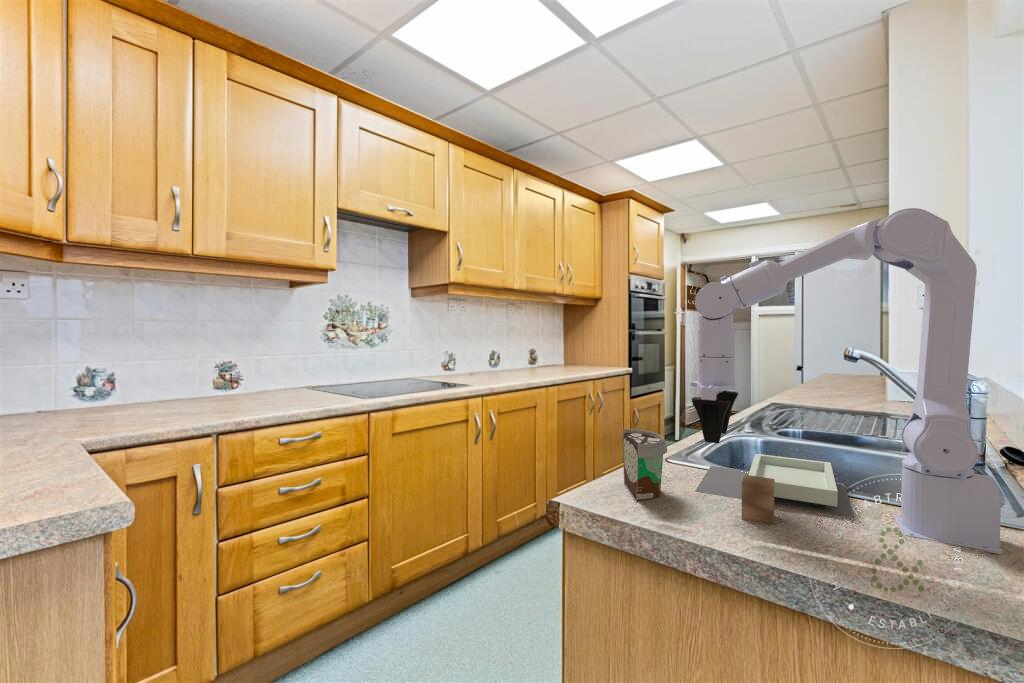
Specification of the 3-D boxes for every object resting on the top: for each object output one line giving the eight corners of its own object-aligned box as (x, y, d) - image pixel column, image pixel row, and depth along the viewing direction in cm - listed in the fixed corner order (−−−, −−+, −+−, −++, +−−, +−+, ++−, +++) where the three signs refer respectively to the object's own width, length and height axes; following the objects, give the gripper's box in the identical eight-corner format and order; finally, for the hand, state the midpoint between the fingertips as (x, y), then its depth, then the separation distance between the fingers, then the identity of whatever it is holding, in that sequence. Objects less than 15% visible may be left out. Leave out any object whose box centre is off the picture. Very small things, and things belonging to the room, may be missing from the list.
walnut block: (774, 518, 69) (774, 478, 69) (772, 528, 65) (773, 486, 65) (744, 513, 71) (744, 474, 71) (741, 522, 68) (741, 482, 67)
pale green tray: (830, 481, 83) (830, 462, 83) (837, 514, 69) (837, 491, 69) (755, 471, 90) (755, 453, 89) (747, 499, 75) (747, 478, 75)
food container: (678, 507, 73) (677, 445, 73) (639, 507, 74) (638, 445, 73) (655, 481, 86) (655, 428, 86) (622, 481, 86) (622, 428, 86)
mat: (843, 486, 82) (844, 483, 82) (853, 520, 68) (853, 517, 68) (710, 467, 94) (710, 465, 94) (695, 493, 79) (695, 491, 79)
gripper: (698, 353, 85) (698, 426, 86) (681, 358, 73) (681, 443, 74) (741, 354, 82) (741, 431, 82) (730, 359, 69) (729, 449, 70)
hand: (715, 437), depth 78 cm, fingers open, 7 cm apart
